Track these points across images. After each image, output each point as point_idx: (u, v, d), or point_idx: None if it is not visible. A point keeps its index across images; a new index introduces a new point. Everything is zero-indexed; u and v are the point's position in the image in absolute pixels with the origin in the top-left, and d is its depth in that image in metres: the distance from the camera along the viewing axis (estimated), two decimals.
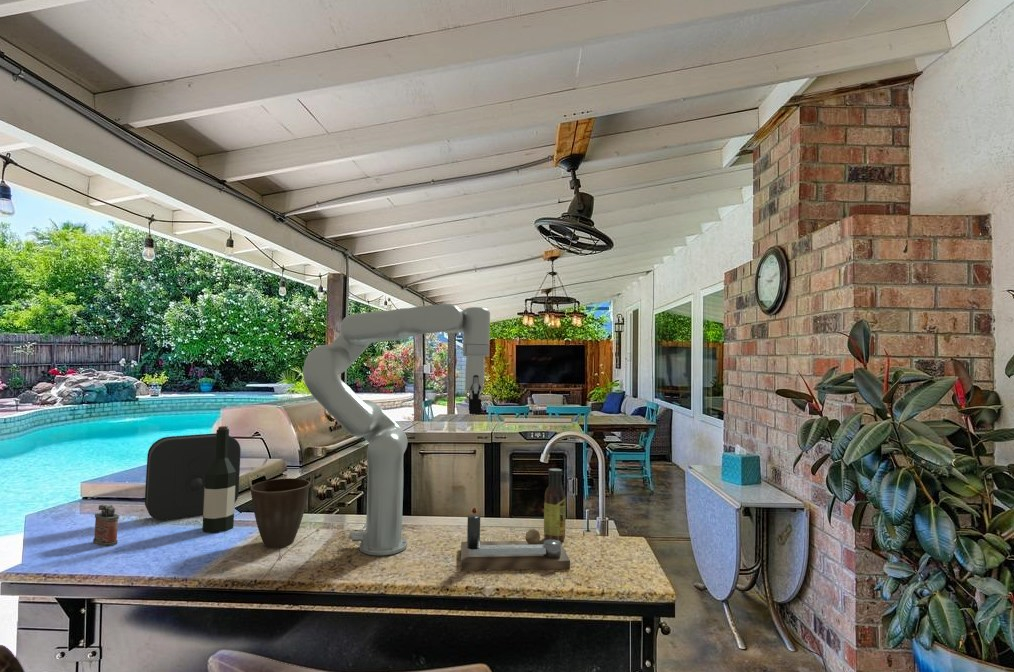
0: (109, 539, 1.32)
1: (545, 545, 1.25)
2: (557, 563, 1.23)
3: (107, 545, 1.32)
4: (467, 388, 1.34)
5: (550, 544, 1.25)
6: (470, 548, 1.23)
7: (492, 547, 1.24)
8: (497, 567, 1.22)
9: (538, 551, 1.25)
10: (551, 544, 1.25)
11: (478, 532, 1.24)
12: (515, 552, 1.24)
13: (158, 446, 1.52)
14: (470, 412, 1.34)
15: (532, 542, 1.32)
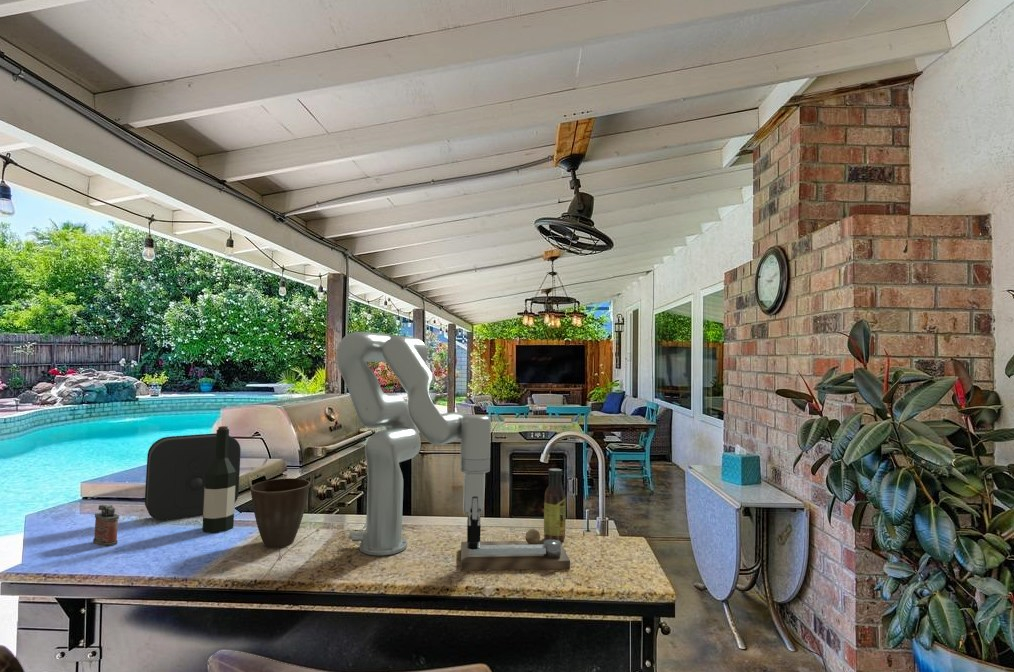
0: (109, 539, 1.32)
1: (545, 545, 1.25)
2: (557, 563, 1.23)
3: (107, 545, 1.32)
4: (465, 511, 1.20)
5: (550, 544, 1.25)
6: (470, 548, 1.23)
7: (492, 547, 1.24)
8: (497, 567, 1.22)
9: (538, 551, 1.25)
10: (551, 544, 1.25)
11: None
12: (515, 552, 1.24)
13: (158, 446, 1.52)
14: (468, 540, 1.22)
15: (532, 542, 1.32)
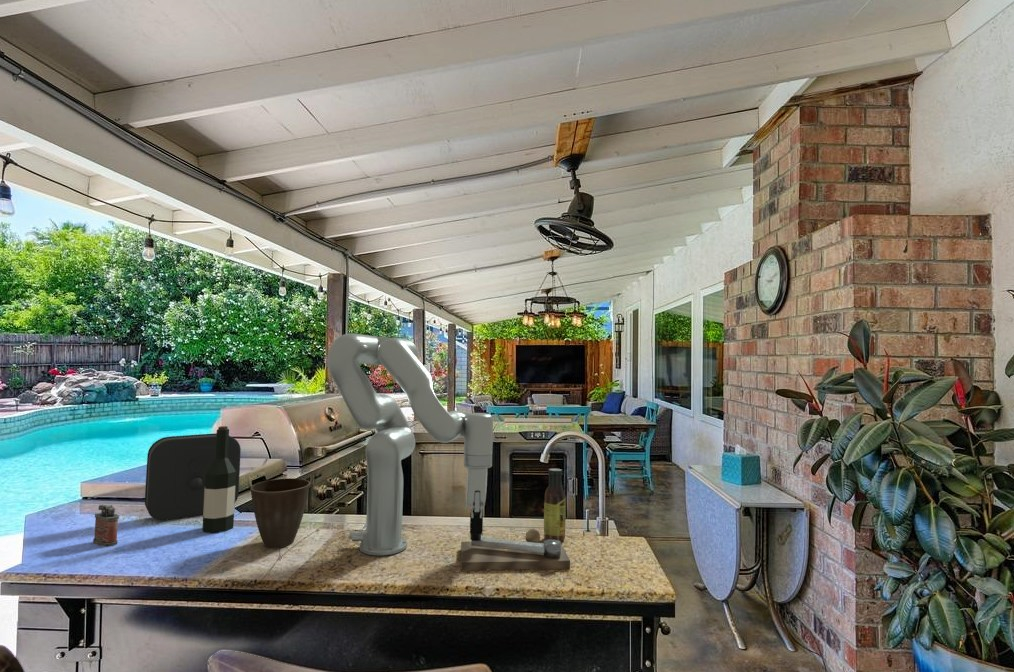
0: (109, 539, 1.32)
1: (544, 544, 1.26)
2: (557, 563, 1.23)
3: (107, 545, 1.32)
4: (468, 504, 1.26)
5: (548, 544, 1.25)
6: (472, 539, 1.29)
7: (493, 541, 1.29)
8: (497, 567, 1.22)
9: (537, 549, 1.26)
10: (550, 544, 1.25)
11: None
12: (514, 548, 1.27)
13: (158, 446, 1.52)
14: (471, 532, 1.28)
15: None
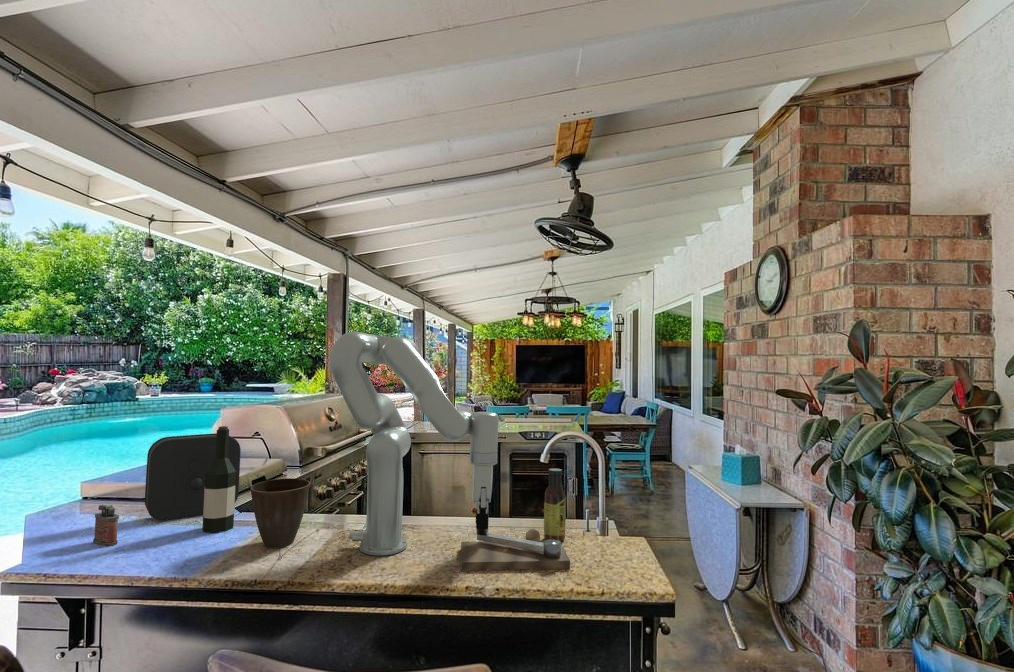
0: (109, 539, 1.32)
1: (543, 543, 1.26)
2: (557, 563, 1.23)
3: (107, 545, 1.32)
4: (474, 500, 1.30)
5: (547, 543, 1.25)
6: (477, 533, 1.34)
7: (497, 536, 1.32)
8: (497, 567, 1.22)
9: (536, 548, 1.27)
10: (548, 544, 1.25)
11: None
12: (516, 545, 1.29)
13: (158, 446, 1.52)
14: (477, 527, 1.32)
15: None
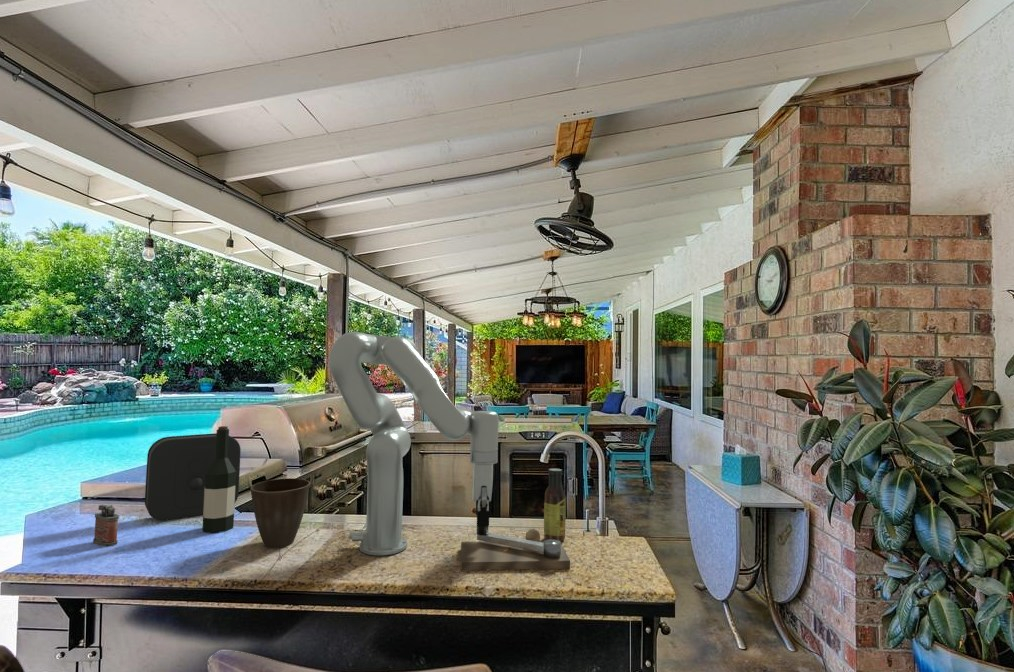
0: (109, 539, 1.32)
1: (543, 543, 1.26)
2: (557, 563, 1.23)
3: (107, 545, 1.32)
4: (475, 499, 1.30)
5: (547, 543, 1.25)
6: (477, 533, 1.34)
7: (497, 536, 1.32)
8: (497, 567, 1.22)
9: (536, 548, 1.27)
10: (548, 544, 1.25)
11: None
12: (516, 545, 1.29)
13: (158, 446, 1.52)
14: (478, 524, 1.30)
15: None
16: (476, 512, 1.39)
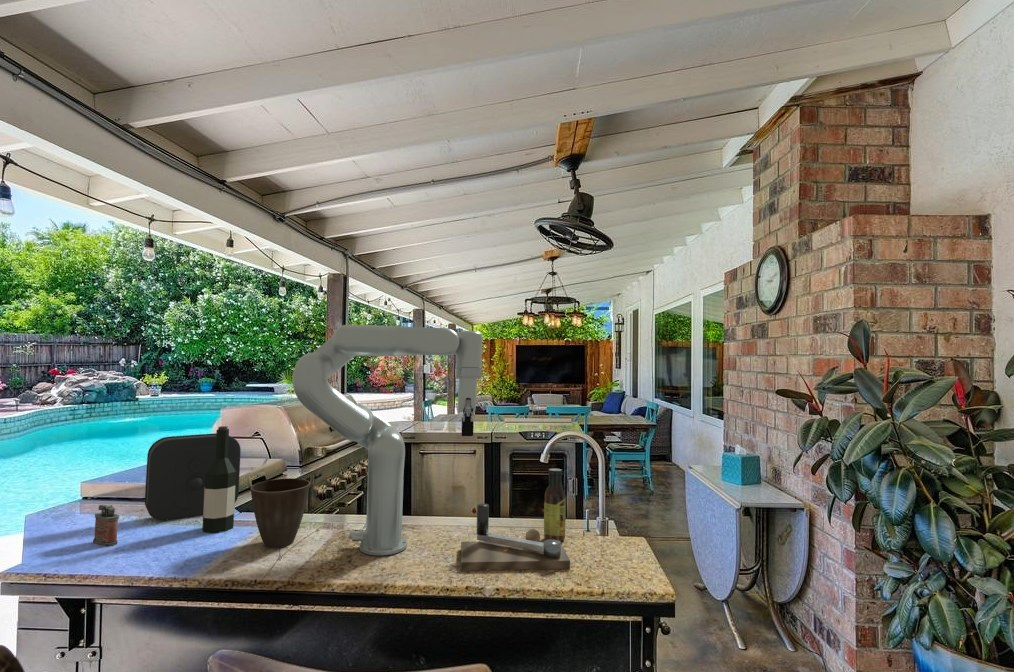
0: (109, 539, 1.32)
1: (543, 543, 1.26)
2: (557, 563, 1.23)
3: (107, 545, 1.32)
4: (460, 410, 1.38)
5: (547, 543, 1.25)
6: (477, 533, 1.34)
7: (497, 536, 1.32)
8: (497, 567, 1.22)
9: (536, 548, 1.27)
10: (548, 544, 1.25)
11: (484, 520, 1.33)
12: (516, 545, 1.29)
13: (158, 446, 1.52)
14: (462, 434, 1.37)
15: None
16: None
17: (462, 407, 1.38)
